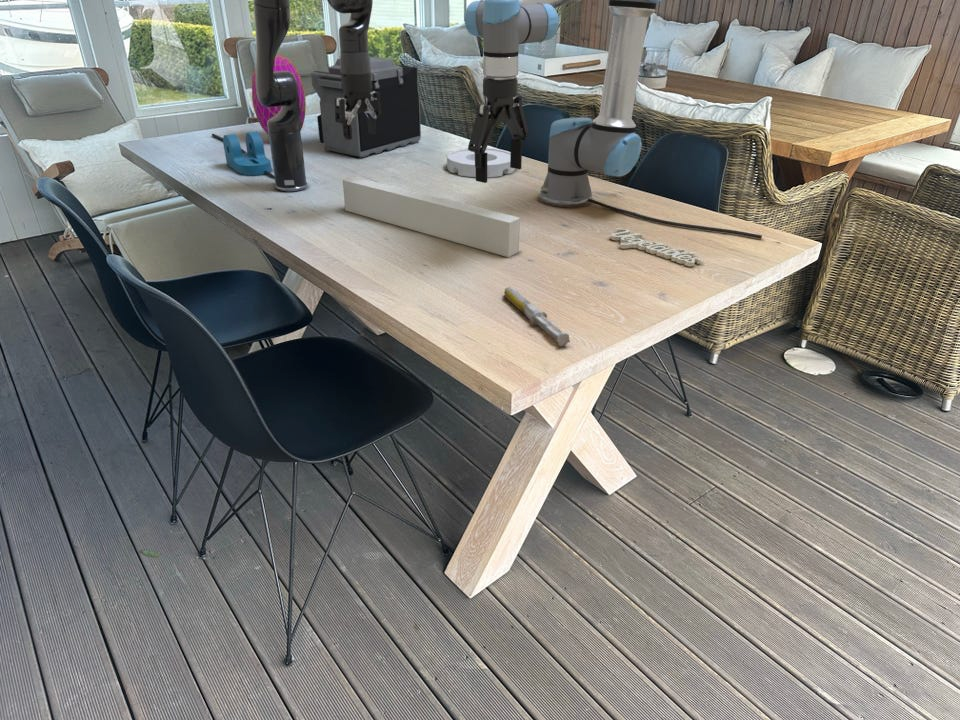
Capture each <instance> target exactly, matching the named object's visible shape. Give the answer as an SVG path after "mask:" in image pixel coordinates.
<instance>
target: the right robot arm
mask: <svg viewBox="0 0 960 720" xmlns="http://www.w3.org/2000/svg"><path fill="white" fill-rule="evenodd" d="M582 1H584V0H475V1H472V2H470V3H469V4H468V5H467V7H466V9H465V12H464V25H465V29H466V31H467V32H468V33H469V34H470V35H472V36H474V37H477V38H478V37H479V38H481V39H483V40H482V47H483V49H482V54H483V55H482V56H483V64H482V65H483V67H482V68H483V72H482V73H483V76H484V77H483V79H482V95H483V96H484V97H485V98H486V104H482V103H478V104H477V106H476V116H475V121H474V123H473V127H472V132H471V135H470V139H469V142H468V147H467V148H468V150H469V151H471V152H474V153H475V167H476V177H475V182H479V183H483V184H486V183H488V177H487V153H485V150H486V148H488V145H489V143H490V141H491V138H492V136H493V134H494V131H495V129H496V128H497V127H498V126H499V124H501V123H503V122H504V123H505V125H506V126H507V127H506V128H507V129H508V130H509V132H510V134H511V136H512V139H510V152H511V157H510V168H515V170H522V159H523V144H524V143H523V141H527V139H528V136H529V133H530V132H529V131H530V130H529V127H528V123H527V119H526V115H525V111H524V108H523V97H522V96H519V95H518V89H519V88H518V87H519V86H518V85H519V84H518V83H519V80H518V78H517V76H518V75H519V52H520V51H519V48H520V47H519V45H522V44H523V45H525V44H532V43H533V44H535V43H538V44H539V43H543V42H546V41H550V40H551V39H553V38H554V37H555V35H556V34H557V32H558V29H559V22H560V19H559V15H558V12H557V10H556V9H557V8H560V7H562V6H564V5H566V4H568V3H570V2H572V3H580V2H582ZM662 1H663V0H609V1H608V9H609V11H610V12H611V13H612V16H613V17H612V24H611V31H610V36H609V37H610V38H609V44H608V52H607V58H606V64H605V73H604V80H603V87H602V93H601V101H600V107H599V114H598V116H597V117H595V118H594V119H592V118H590V117H569V118H568V117H567V118H562V119H557V120H554V121H553V122H552V123H551V125H550V129H549V130H550V131H549V135H548V156H547V158H548V159H547V173H546V176H545V178H544V181H543V184H542V186H541V187H540V191H539V200H540V202H542V203H543V204H546V205H549V206H553V207H558V208H559V207H560V208H580V207H584V206H588V205H589V204H594V205H596V206H599V207H603V208H605V209H607V210H612V211H614V212H618V213H621V214H625V215H628V216H632V217H635V218H637V219H642V220H645V221H649V222H654V223H657V224H663V225H668V226H674V227H680V228H688V229H693V230H700V231H701V230H702V231H709V232H715V233H716V232H717V233H724V234H730V235H738V236H743V237H747V238H754V239H759V240H762V238H763V235H762V234H757V233H751V232H746V231H740V230H734V229H728V228H720V227H712V226H705V225H696V224H689V223H682V222H676V221H671V220H665V219H659V218H655V217H651V216H647V215H643V214H640V213H636V212H633V211H630V210H626V209H623V208H619V207H615V206H613V205H609V204H606V203H604V202H601V201H598V200H595V199H593V193H592V188H591V184H590V179H589V171H592V172H595V173H599V174H603V175H606V176H608V177H610V176H612V177H619V178H620V177H624V176H626V175H627V174H629V173H630V172H631V171H632V170H633V168H635V166H636V165H637V162H638V161H639V158H640V155H641V153H642V146H643V142H642V139H641V138H642V137H640V135H639V134H638V133H636V128H637V124H636V123H635V121H634V120H633V113H634V112H633V111H634V105H635V99H636V94H637V87H638V83H639V75H640V70H641V69H640V68H641V63H642V58H643V57H642V56H643V52H644V46H645V44H644V43H645V38H646V33H647V27H648V20H649V18H650V16H652V15H653V14H654V13H655V12H656V10H657V4H658V3H660V2H662Z"/></svg>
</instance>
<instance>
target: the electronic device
mask: <svg viewBox="0 0 960 720" xmlns="http://www.w3.org/2000/svg"><path fill="white" fill-rule="evenodd" d="M369 57H370V65H371V82H372V89H371V90H370V92H371V91H375V92H379V93H380V102H381V115H380V116H377V118H376V133H375V134H370V133H368V124H367V119H368V117H367V116H366V114H365V113H364V112H360V113H358V114H356V115H355V117H354V118H353V119H352V121H351V124H350V125H351V127H352V139H351V140H347V139H345V137H344V136H343V125H342V124H341V123H338V122H336V121H335V101H334V100H335V98H344V91H343V89H342V81H341V69H340V58H337V59H336V60H335V63H334V64H333V65H330V66H329V67H328V72H327V71H320V70H314V71H313V70H312V71H310V79H311V87H313V90H314V91H315V93H316V94H317V96H318V98H319V110H320V111H319V112H320V114H319V115H317V116H316V119H317V128H318V138H319V143H320V144H323V146H324V149H325V150H327V151H330V152H335V153H340V154H344V155H348V156H353V157H357V158H362V159H363V158H366V157H367V158H368V157H369V155H371V154H375V155H377V154H381V153H382V152H383V151H391V150H395V149H396V148H397V147H405V146H407V145H408V144H416V143H418V142H419V141H421V137H422V128H421V97H420V92H419V91H420V89H419V68H418V67H417V66H408V65H400V64H396V62H395V60H394V59H393V58H385V57H377V56H369ZM370 104H371V100H370ZM376 110H377V107H376ZM349 112H350V110H349ZM347 118H348V117H347Z"/></svg>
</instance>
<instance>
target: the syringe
mask: <svg viewBox="0 0 960 720" xmlns="http://www.w3.org/2000/svg"><path fill="white" fill-rule="evenodd" d="M504 297H505V298H506V299H507V300H508V301H509V302H510V303H512V305H513V306H515V307H516V308H517V309H518V310H519V311H520V312H521V313H522V314H523V316H525V317H526V318H527V319H528V320H529V323H530V324H531V326H538V327H540V328H541V329H542V330H543V331H544V332H545V333H547V335H549V336H550V337H551V338H552V339H553V340H554V341H555V342H556V343H557V345H558V346H559V347H560V348H561V347H565V346H567V345H568V344H569V343H570V342H571V339H570V334H569V333H567V332H565V333H564V332H563V331H562V330H561V329H560V328H559V327H558V326H556V325H555V324H554V323H552V321H550V320H548V315H547V313H546V312H545V311H541V310H540V309H538V308H537V306H535V305H534V304H533V303H531V301H529V300H528V299H527V298H526V297H524V296H523V295H522V294H521V293H520V292H519V291H518V290H517V289H516V288H515V287H514V286H512V285H511V286H508V287H507V286H506V287H505V288H504Z"/></svg>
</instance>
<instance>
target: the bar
mask: <svg viewBox="0 0 960 720" xmlns="http://www.w3.org/2000/svg"><path fill="white" fill-rule="evenodd" d="M342 190H343V202H344V210H345V211H346V212H349V213H352V214H356V215H360V216H363V217H367V218H370V219H374V220H377V221H380V222H383V223H388V224H391V225H394V226H398V227H402V228H405V229H408V230H412V231H415V232H419V233H423V234H426V235H429V236H432V237H436V238H440V239H443V240H447V241H450V242H453V243H457V244H460V245H464V246H467V247H471V248H474V249H478V250H482V251H485V252H488V253H492V254H496V255H499V256H503V257H505V258H510V257H512V256H514V255H516V254H519V252H520V234H521V233H520V230H521V217H518V216H515V215H511V214H506V213H502V212H498V211H494V210H491V209H486V208H483V207H479V206H474V205H470V204H466V203H462V202H457V201H454V200H449V199H446V198H442V197H438V196H434V195H430V194H425V193H421V192H418V191H413V190H411V189H405V188H402V187H398V186H393V185H390V184H386V183H382V182H378V181H374V180H370V179H366V178H362V177H357V176H351V177H348V178H344V179H342Z"/></svg>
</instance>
